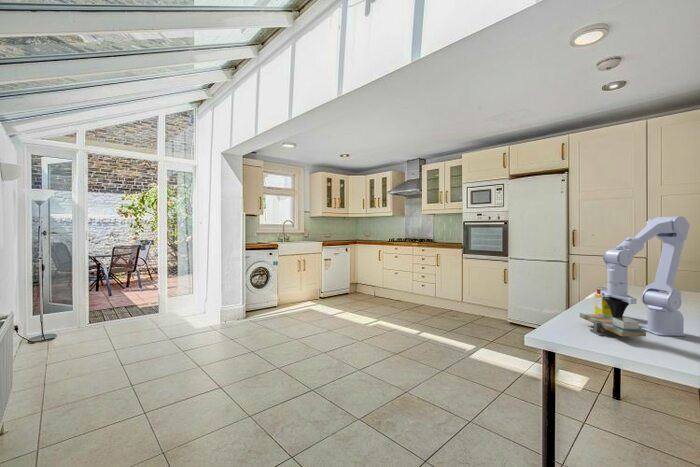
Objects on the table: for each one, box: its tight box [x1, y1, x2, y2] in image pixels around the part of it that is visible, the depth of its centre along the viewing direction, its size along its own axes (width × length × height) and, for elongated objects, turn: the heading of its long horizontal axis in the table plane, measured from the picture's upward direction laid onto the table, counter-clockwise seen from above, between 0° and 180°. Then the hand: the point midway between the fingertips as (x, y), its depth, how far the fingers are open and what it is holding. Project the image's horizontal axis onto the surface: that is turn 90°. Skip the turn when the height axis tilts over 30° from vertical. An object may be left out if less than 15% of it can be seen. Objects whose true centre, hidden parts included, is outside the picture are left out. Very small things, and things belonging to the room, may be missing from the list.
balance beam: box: [579, 312, 647, 337], centre depth 120 cm, size 22×8×2 cm, turn 176°
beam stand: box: [589, 322, 621, 337], centre depth 119 cm, size 5×12×4 cm, turn 86°
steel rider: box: [613, 316, 640, 331], centre depth 113 cm, size 5×5×4 cm
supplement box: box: [594, 293, 613, 318], centre depth 135 cm, size 6×6×11 cm
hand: (617, 319), depth 117 cm, fingers closed
